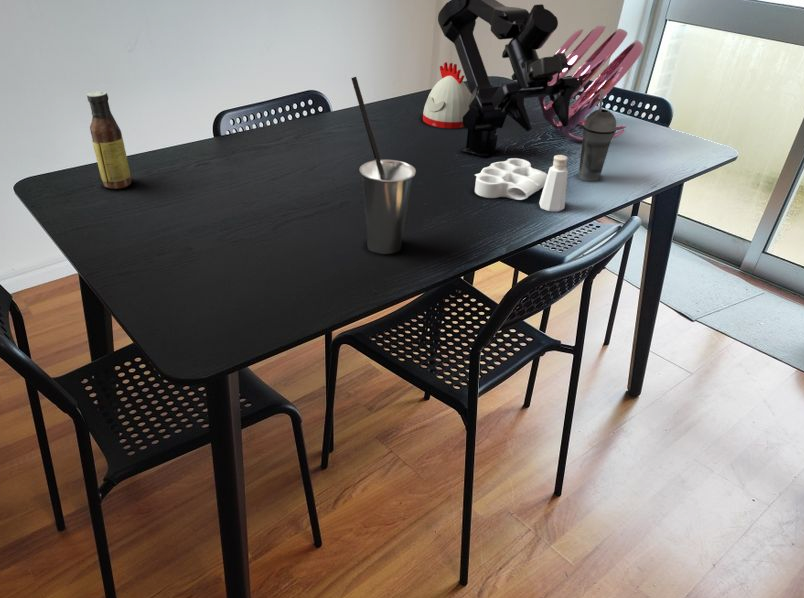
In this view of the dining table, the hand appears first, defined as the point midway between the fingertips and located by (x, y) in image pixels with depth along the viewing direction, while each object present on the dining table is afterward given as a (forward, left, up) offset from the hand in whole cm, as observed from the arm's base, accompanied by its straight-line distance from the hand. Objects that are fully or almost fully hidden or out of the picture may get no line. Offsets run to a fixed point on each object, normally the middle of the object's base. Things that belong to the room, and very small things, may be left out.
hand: (548, 128), depth 150 cm
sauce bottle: (-77, -52, -14) cm, 94 cm away
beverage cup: (+7, +15, -14) cm, 21 cm away
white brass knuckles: (-6, -1, -14) cm, 16 cm away
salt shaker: (+6, -6, -14) cm, 17 cm away
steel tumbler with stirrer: (-14, -42, -14) cm, 47 cm away
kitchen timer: (-39, +32, -14) cm, 52 cm away
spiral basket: (-6, +43, -14) cm, 45 cm away
